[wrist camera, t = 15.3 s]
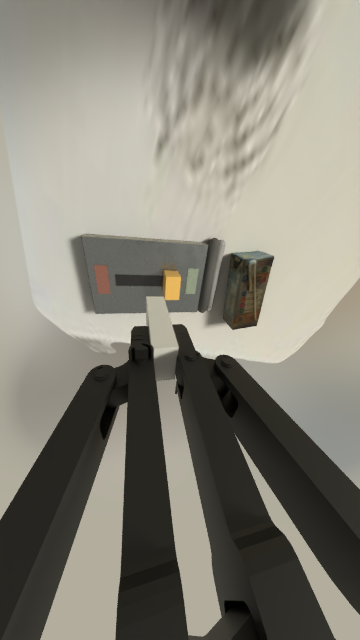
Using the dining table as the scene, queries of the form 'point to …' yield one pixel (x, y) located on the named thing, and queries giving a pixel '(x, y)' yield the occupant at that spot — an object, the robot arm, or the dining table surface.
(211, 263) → the grey rounded bar
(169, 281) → the toggle
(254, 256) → the beverage carton
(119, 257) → the breaker panel
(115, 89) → the dining table surface
